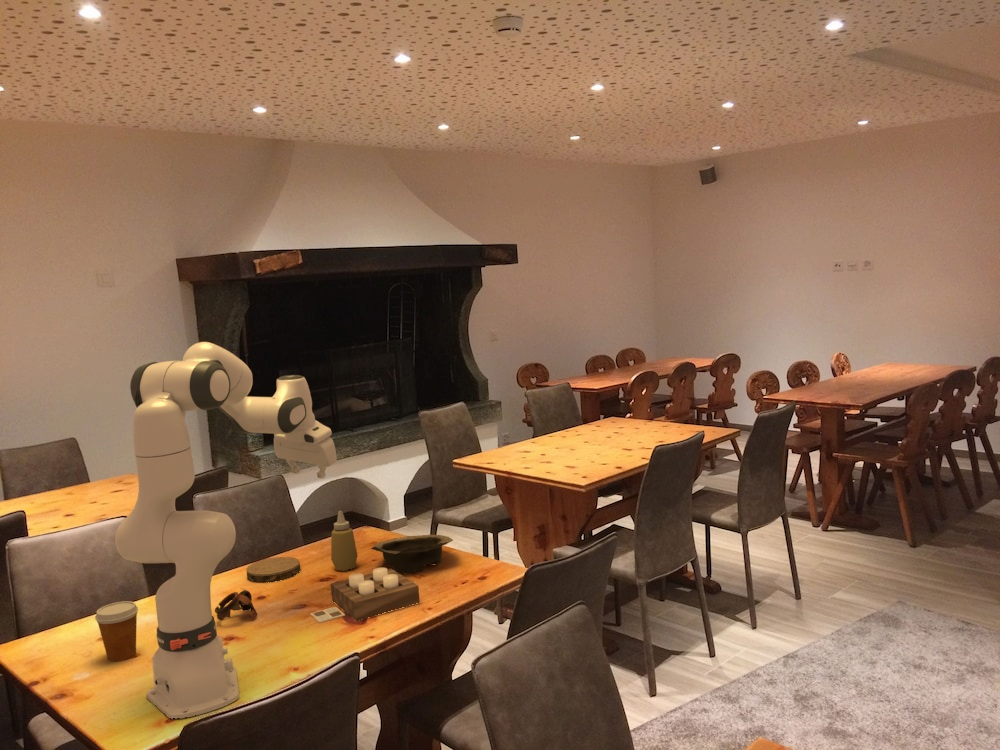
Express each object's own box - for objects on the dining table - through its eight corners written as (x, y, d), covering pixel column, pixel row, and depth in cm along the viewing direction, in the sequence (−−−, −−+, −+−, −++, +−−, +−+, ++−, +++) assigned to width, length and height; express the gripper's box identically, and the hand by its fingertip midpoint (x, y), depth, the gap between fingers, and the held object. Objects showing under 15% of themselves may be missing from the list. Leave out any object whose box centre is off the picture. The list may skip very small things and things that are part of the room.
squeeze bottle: (356, 571, 248) (350, 514, 246) (329, 573, 248) (324, 515, 246) (360, 563, 256) (355, 507, 254) (335, 564, 256) (329, 508, 254)
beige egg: (391, 587, 226) (389, 570, 225) (377, 591, 224) (376, 573, 223) (385, 583, 229) (383, 566, 229) (371, 587, 227) (370, 569, 227)
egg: (367, 594, 222) (365, 576, 222) (353, 597, 220) (351, 579, 220) (361, 589, 226) (360, 572, 225) (348, 593, 224) (346, 575, 223)
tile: (345, 615, 214) (344, 614, 214) (319, 623, 210) (319, 621, 210) (335, 608, 220) (335, 606, 220) (310, 614, 216) (310, 613, 216)
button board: (419, 603, 219) (418, 585, 218) (356, 621, 210) (354, 602, 209) (392, 585, 234) (390, 568, 234) (332, 601, 225) (330, 583, 224)
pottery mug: (253, 627, 212) (234, 604, 210) (225, 642, 214) (205, 619, 212) (267, 598, 223) (249, 576, 221) (240, 613, 225) (222, 591, 223)
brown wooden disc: (254, 588, 241) (253, 578, 241) (241, 573, 255) (240, 564, 254) (307, 575, 249) (306, 566, 248) (292, 562, 262) (291, 553, 262)
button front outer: (401, 594, 220) (400, 576, 219) (388, 598, 218) (386, 580, 217) (395, 590, 223) (394, 572, 223) (382, 594, 221) (380, 576, 221)
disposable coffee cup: (115, 667, 192) (109, 618, 191) (92, 660, 197) (86, 612, 196) (151, 651, 200) (146, 603, 199) (127, 644, 205) (122, 598, 204)
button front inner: (377, 601, 216) (375, 583, 216) (363, 605, 214) (361, 586, 214) (371, 597, 220) (370, 579, 219) (357, 600, 218) (356, 582, 217)
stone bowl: (405, 583, 234) (400, 552, 234) (359, 572, 253) (355, 542, 253) (471, 559, 250) (467, 530, 250) (423, 550, 269) (420, 522, 269)
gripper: (264, 430, 229) (274, 474, 234) (320, 439, 219) (329, 485, 224) (280, 421, 234) (289, 465, 239) (335, 430, 224) (343, 475, 229)
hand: (309, 475), depth 231 cm, fingers open, 8 cm apart
